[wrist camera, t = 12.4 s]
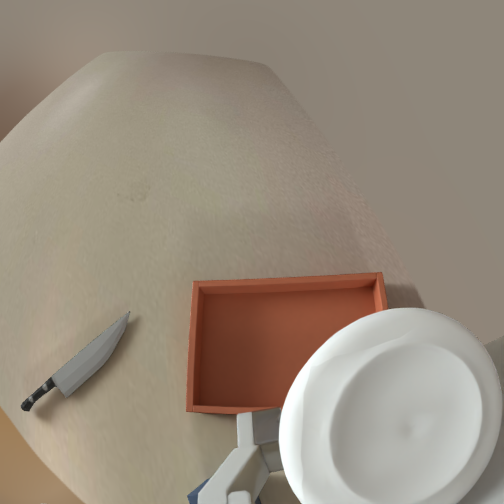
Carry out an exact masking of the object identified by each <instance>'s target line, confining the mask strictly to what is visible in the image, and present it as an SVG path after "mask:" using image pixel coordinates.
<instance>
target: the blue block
mask: <svg viewBox="0 0 504 504" xmlns="http://www.w3.org/2000/svg"><path fill="white" fill-rule="evenodd" d="M209 480H210V479H207V480H206V481H204V482H203V483H202V484H201V485H200V486H198V487H197V488H196V489H195V490H194V491H192V492H191V493H190V494H189V495H187V497H188V500H189V503H190V504H198V493H199V492H200V491H201V489H202V488H203V487H204V486H205V485H206V483H207V482H208V481H209ZM255 504H261V502H260V499H259V496H258V497H257V499H256V500H255Z"/></svg>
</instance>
